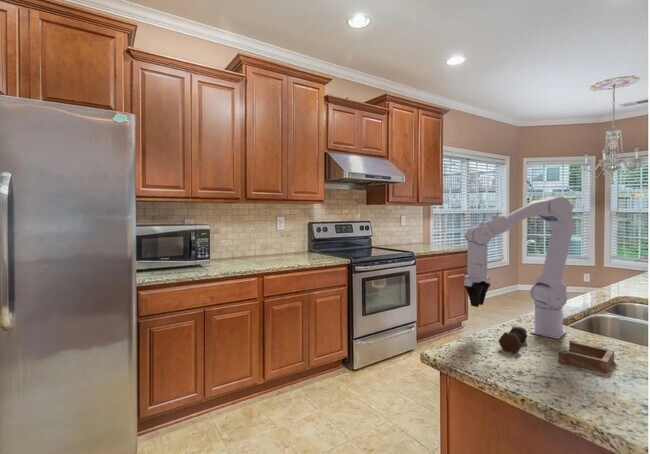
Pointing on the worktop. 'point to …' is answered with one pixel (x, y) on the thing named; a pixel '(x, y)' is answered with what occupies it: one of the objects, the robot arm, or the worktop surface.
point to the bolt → (513, 339)
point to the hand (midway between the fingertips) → (477, 305)
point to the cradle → (587, 356)
